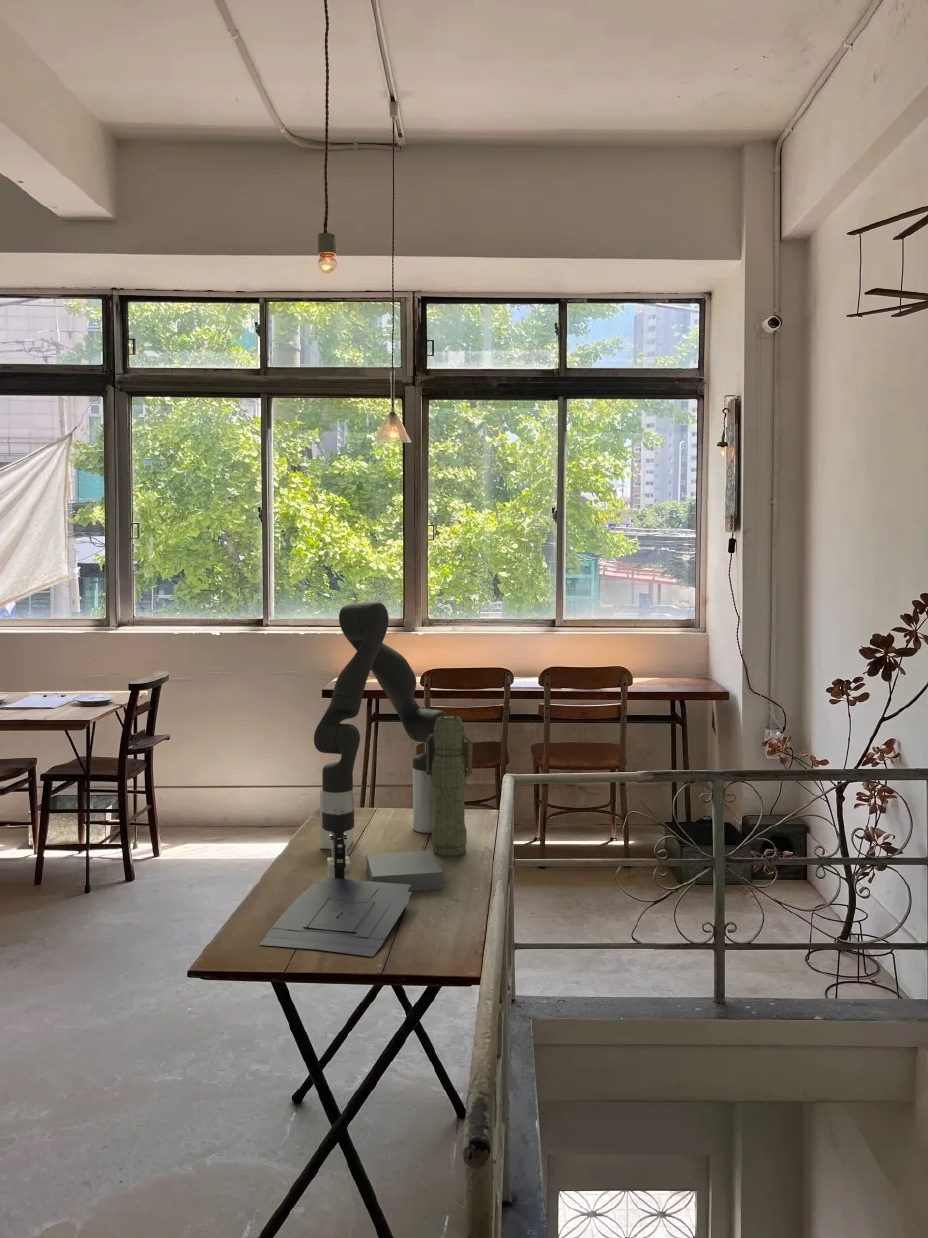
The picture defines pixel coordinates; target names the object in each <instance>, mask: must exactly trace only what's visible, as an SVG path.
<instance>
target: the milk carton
mask: <svg viewBox="0 0 928 1238" xmlns="http://www.w3.org/2000/svg"><path fill="white" fill-rule="evenodd" d="M321 789H322V790H320V792H319V816H320V817H319V818H320V819H319V823H320V824H319V825H320V826H319V827H320V832H319V833H320V836H319V837H320V838H319V839H320V849H323V850H324V849H325V850H326V849H327V850H328V849H329V850H331V845H330V835H332V832H331V831H330V832H329V831H325V830H324V829H323V828H322V792H323V788H321ZM344 834H346V835H347V845H346V848H347V850H348V849H349V848H350V846H351V845H352V844H353V842H354V828H353V829H351V830H349V831H345V832H344Z"/></svg>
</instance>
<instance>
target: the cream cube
mask: <svg viewBox="0 0 928 1238" xmlns="http://www.w3.org/2000/svg"><path fill="white" fill-rule="evenodd" d="M326 859H327V878H335V868H334V859H333V858H332V856H331V857H327V858H326ZM342 862H343V861H342V859H337V863H342ZM345 864H346V866H345V868H344V879H348V880H351V861H350V857H349V856H348V855H347V856H346V857H345Z"/></svg>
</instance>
